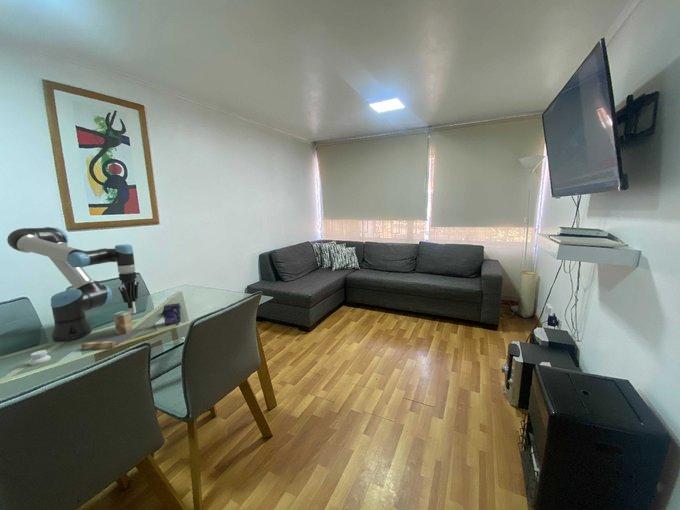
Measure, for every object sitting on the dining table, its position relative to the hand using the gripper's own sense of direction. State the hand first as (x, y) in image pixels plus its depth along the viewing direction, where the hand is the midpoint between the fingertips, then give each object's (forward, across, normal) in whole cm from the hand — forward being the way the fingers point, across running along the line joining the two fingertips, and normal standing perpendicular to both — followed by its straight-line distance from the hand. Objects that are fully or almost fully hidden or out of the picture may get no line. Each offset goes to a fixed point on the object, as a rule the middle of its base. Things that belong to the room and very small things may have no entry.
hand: (132, 312), depth 151 cm
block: (+8, -8, 0) cm, 11 cm away
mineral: (+8, +14, -15) cm, 22 cm away
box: (+9, +4, -19) cm, 21 cm away
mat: (+8, -14, 0) cm, 16 cm away
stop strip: (+8, -25, 0) cm, 26 cm away
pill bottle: (+16, -35, +16) cm, 42 cm away
